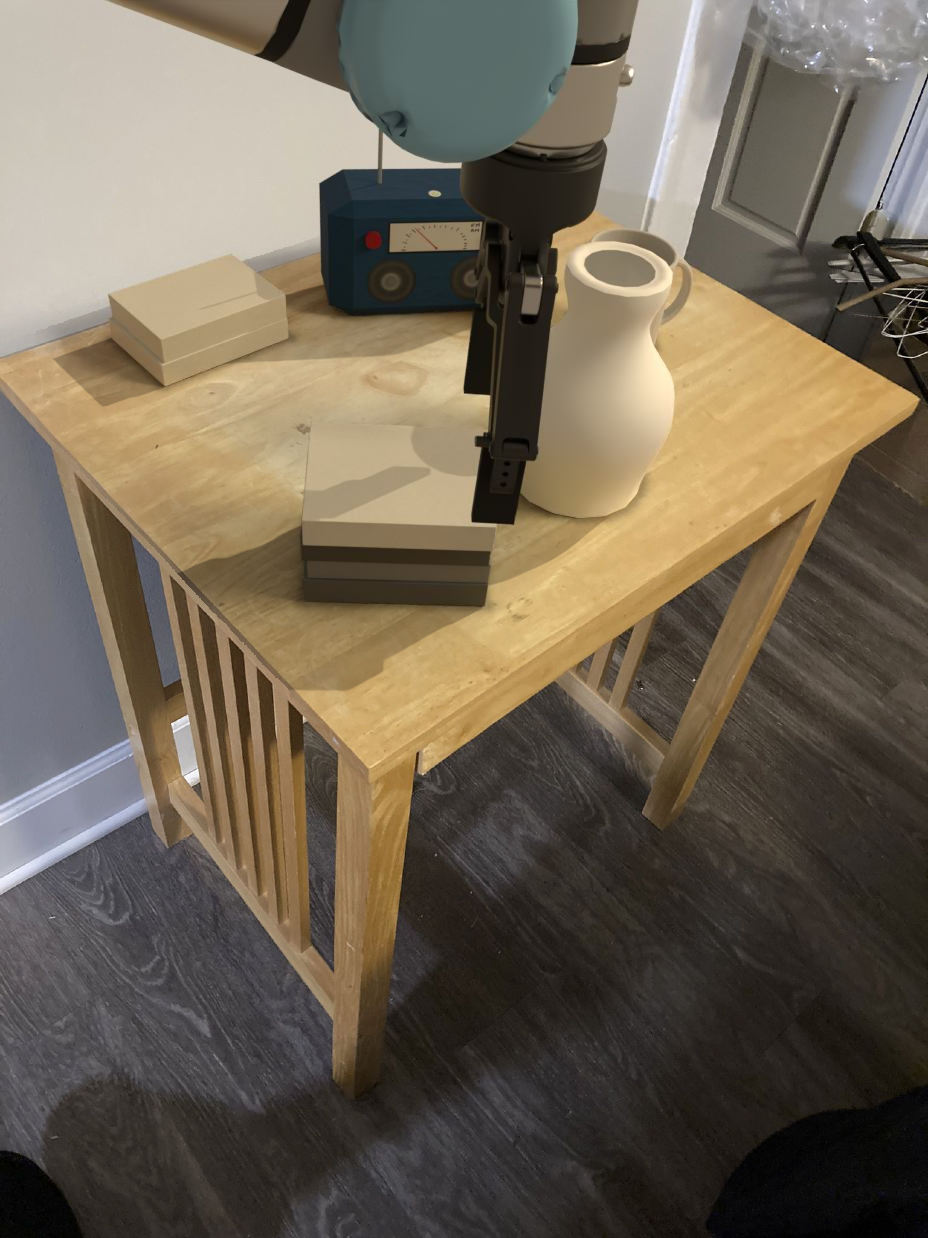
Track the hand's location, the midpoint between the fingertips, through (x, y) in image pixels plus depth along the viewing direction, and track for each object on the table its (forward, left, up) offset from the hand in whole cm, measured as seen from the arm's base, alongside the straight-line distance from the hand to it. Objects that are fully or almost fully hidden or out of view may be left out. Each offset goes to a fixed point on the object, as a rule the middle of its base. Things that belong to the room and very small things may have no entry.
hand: (486, 451), depth 66 cm
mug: (+18, +37, -14) cm, 44 cm away
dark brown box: (-6, +3, -14) cm, 15 cm away
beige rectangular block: (-25, +33, -14) cm, 43 cm away
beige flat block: (-6, +3, -7) cm, 9 cm away
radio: (-3, +43, -14) cm, 45 cm away
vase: (+10, +15, -14) cm, 23 cm away
